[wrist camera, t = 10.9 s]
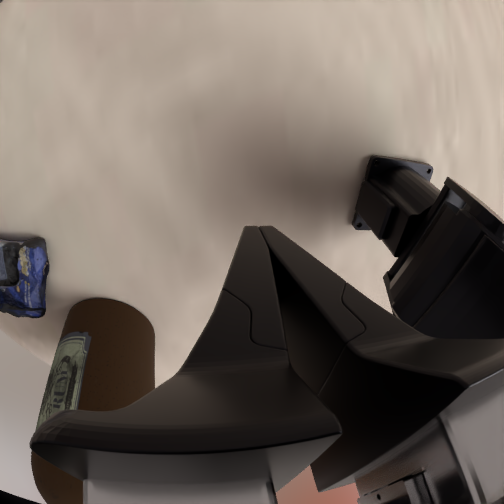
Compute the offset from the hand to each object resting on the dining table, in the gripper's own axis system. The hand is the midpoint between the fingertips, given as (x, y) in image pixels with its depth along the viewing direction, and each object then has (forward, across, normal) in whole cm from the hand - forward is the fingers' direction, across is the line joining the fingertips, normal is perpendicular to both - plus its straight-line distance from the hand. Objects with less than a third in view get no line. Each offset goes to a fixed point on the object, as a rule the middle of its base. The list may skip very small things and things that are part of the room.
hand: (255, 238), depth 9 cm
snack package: (+13, +20, +10) cm, 26 cm away
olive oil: (+12, +11, +19) cm, 25 cm away
